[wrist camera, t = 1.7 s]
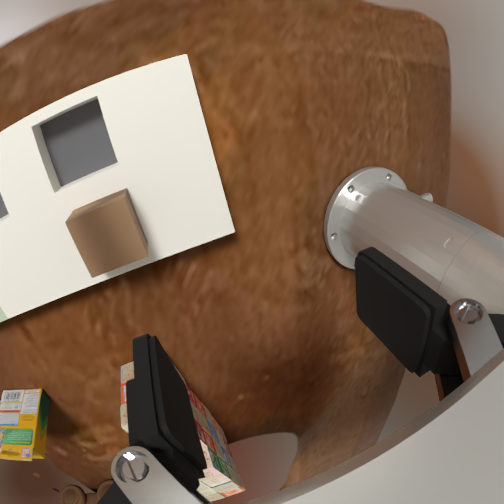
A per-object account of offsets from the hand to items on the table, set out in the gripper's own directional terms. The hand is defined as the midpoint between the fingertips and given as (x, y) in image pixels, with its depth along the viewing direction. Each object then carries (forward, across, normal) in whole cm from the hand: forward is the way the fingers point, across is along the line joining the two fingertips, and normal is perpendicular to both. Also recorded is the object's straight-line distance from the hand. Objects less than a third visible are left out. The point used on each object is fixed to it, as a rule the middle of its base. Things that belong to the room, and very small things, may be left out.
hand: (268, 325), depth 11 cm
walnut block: (+17, +8, 0) cm, 19 cm away
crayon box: (+20, +32, +17) cm, 41 cm away
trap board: (+20, +13, -4) cm, 24 cm away
